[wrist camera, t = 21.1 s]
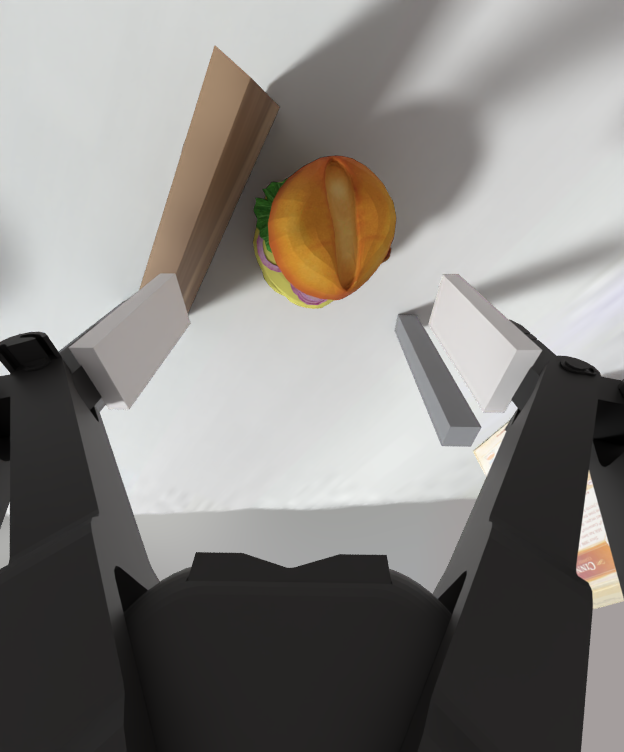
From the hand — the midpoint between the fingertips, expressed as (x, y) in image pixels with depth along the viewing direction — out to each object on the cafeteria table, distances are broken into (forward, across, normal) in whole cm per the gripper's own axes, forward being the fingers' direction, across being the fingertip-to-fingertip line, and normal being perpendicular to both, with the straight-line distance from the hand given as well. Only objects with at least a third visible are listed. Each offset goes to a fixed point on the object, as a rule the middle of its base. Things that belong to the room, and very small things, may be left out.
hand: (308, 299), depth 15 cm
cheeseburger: (+15, 0, -1) cm, 15 cm away
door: (+15, -15, -8) cm, 22 cm away
